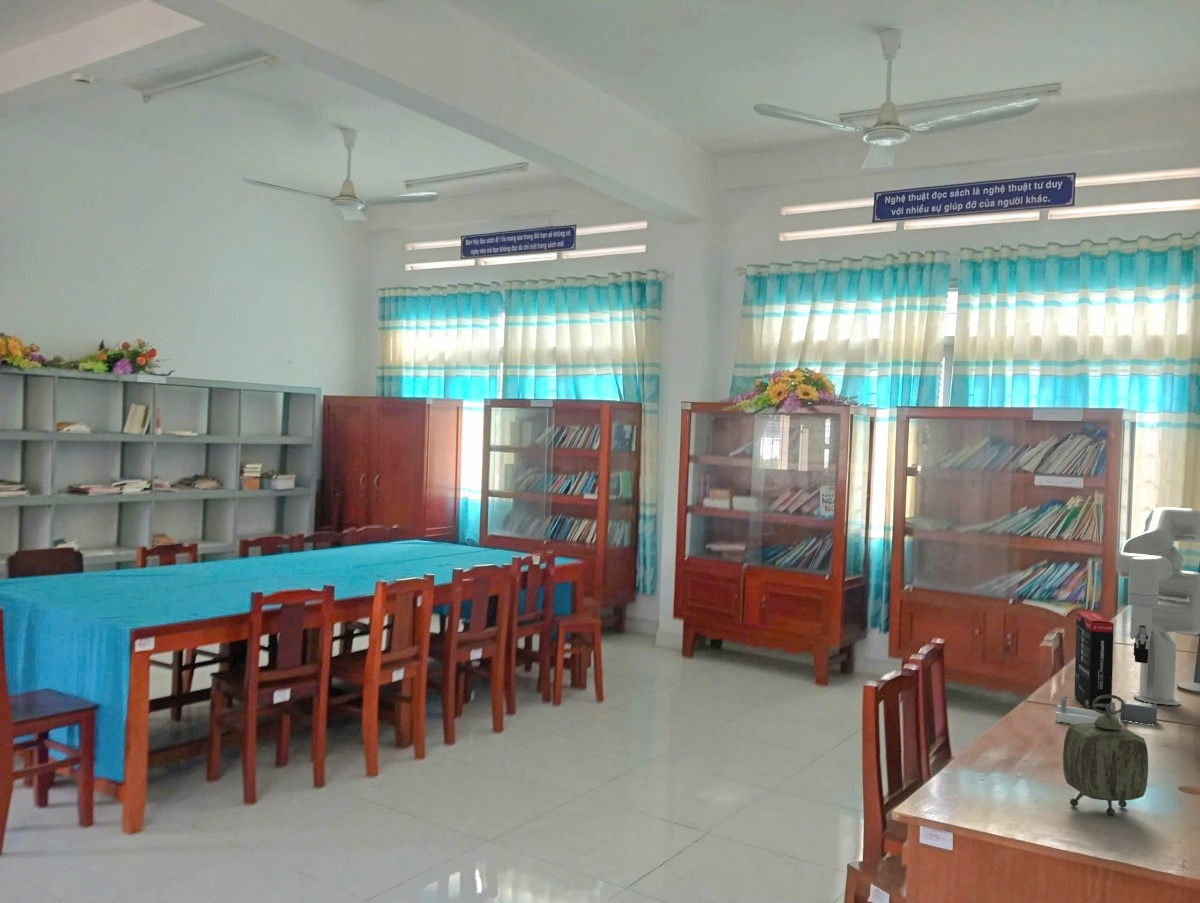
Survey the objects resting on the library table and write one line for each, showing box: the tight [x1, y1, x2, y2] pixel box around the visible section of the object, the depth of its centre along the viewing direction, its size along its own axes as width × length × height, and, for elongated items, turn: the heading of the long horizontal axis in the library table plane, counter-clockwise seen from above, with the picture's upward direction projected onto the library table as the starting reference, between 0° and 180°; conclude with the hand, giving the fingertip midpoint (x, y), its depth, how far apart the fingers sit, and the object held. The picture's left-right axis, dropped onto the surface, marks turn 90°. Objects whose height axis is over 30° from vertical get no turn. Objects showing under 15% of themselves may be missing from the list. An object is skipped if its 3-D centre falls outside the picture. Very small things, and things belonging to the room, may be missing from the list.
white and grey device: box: [1055, 695, 1121, 725], centre depth 275 cm, size 11×16×6 cm
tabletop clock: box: [1062, 694, 1149, 817], centre depth 205 cm, size 14×9×25 cm, turn 92°
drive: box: [1119, 699, 1158, 726], centre depth 278 cm, size 6×9×5 cm, turn 61°
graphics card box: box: [1073, 610, 1115, 711], centre depth 294 cm, size 17×7×27 cm, turn 168°
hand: (1140, 659), depth 277 cm, fingers open, 9 cm apart
